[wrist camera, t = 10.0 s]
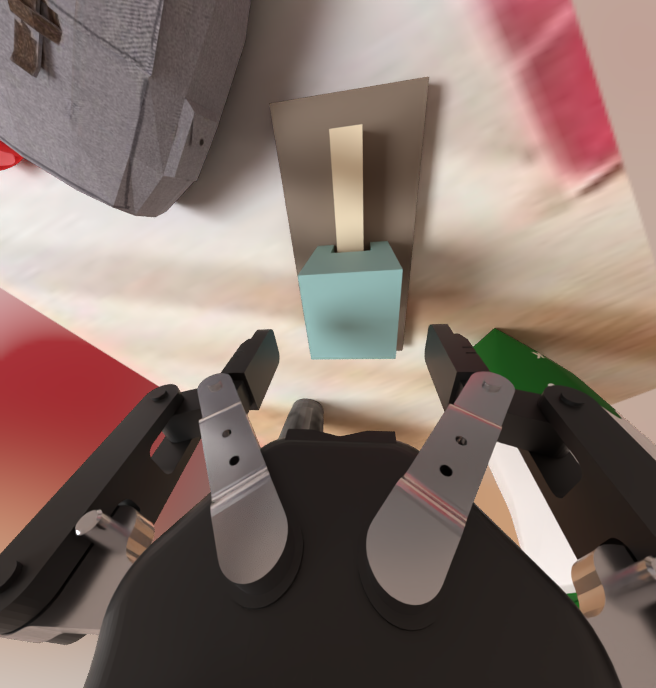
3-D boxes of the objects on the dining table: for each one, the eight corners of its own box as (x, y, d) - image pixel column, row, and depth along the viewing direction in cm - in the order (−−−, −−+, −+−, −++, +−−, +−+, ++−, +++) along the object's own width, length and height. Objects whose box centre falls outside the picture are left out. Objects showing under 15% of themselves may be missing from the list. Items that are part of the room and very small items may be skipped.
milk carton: (431, 374, 28) (539, 649, 11) (496, 315, 23) (850, 644, 6) (487, 403, 29) (652, 681, 13) (559, 354, 25) (968, 696, 8)
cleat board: (274, 108, 16) (258, 93, 14) (424, 83, 15) (438, 61, 12) (311, 345, 27) (306, 362, 25) (400, 344, 26) (405, 362, 23)
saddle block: (317, 246, 20) (297, 275, 13) (387, 240, 19) (402, 269, 13) (324, 310, 23) (311, 359, 17) (384, 308, 23) (395, 358, 16)
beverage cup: (342, 419, 34) (327, 640, 17) (300, 430, 37) (253, 632, 20) (316, 385, 31) (268, 615, 14) (272, 400, 33) (188, 610, 17)
